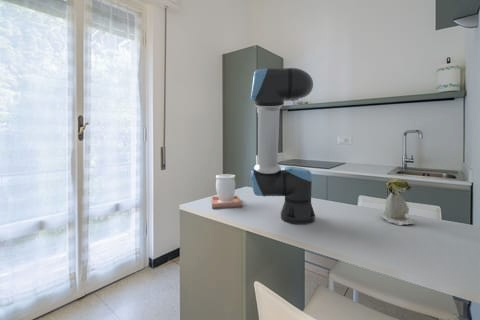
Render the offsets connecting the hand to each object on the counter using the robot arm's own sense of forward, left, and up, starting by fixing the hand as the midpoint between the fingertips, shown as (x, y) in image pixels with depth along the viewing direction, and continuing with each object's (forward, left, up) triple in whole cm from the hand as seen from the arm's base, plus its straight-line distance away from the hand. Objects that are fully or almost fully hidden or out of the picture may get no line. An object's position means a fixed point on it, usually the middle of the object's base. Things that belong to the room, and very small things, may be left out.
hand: (263, 149), depth 148 cm
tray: (-11, +24, -29) cm, 39 cm away
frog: (-50, -48, -29) cm, 75 cm away
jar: (-11, +24, -28) cm, 38 cm away
